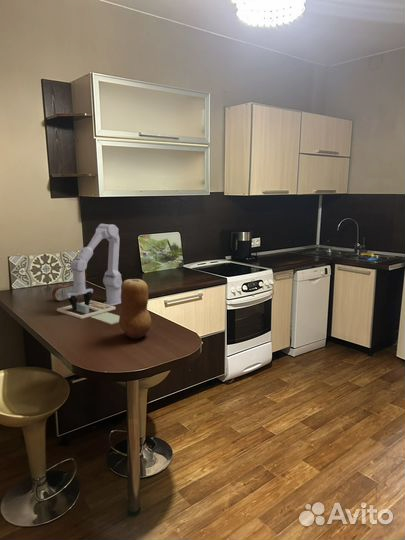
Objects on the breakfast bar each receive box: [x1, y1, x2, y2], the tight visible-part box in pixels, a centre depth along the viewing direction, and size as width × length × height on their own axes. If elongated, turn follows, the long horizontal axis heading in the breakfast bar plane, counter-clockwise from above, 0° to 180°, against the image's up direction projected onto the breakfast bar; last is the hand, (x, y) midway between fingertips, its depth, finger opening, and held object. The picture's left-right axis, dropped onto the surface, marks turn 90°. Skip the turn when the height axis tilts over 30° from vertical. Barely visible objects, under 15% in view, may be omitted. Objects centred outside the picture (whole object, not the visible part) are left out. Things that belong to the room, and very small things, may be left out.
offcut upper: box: [89, 303, 107, 310], centre depth 212 cm, size 4×10×1 cm, turn 52°
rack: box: [56, 299, 116, 319], centre depth 208 cm, size 21×21×2 cm
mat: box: [90, 311, 120, 325], centre depth 194 cm, size 10×16×1 cm, turn 51°
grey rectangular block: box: [75, 301, 90, 315], centre depth 205 cm, size 2×11×4 cm, turn 51°
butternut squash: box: [118, 278, 152, 340], centre depth 167 cm, size 14×13×25 cm
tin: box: [51, 283, 74, 302], centre depth 228 cm, size 15×3×8 cm, turn 141°
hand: (80, 308), depth 205 cm, fingers open, 7 cm apart
